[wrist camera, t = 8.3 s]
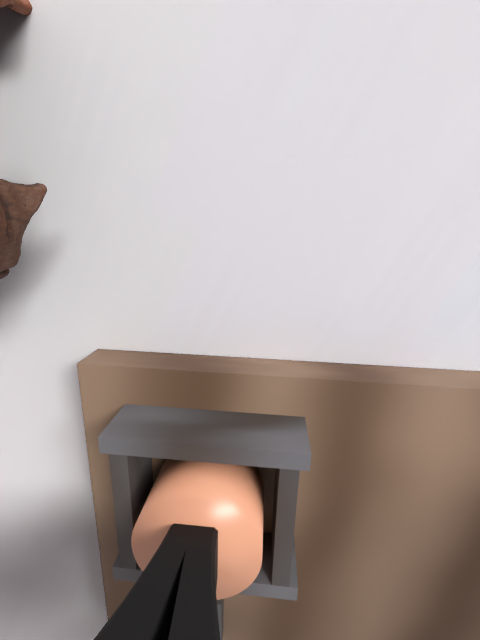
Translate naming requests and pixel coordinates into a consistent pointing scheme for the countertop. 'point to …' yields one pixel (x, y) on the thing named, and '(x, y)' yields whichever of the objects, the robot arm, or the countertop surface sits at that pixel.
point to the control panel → (305, 485)
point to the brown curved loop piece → (16, 194)
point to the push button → (207, 516)
